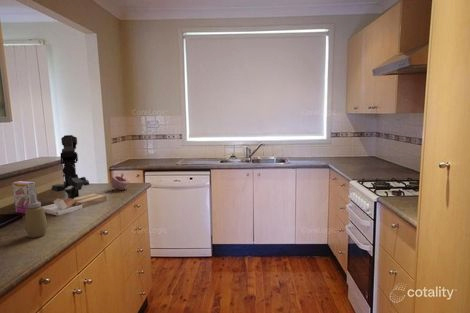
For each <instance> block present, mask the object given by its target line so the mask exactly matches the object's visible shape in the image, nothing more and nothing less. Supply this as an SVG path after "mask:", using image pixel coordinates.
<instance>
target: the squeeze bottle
mask: <svg viewBox="0 0 470 313" xmlns="http://www.w3.org/2000/svg"><path fill="white" fill-rule="evenodd" d="M41 205H42V202H41V201H39V200H38V198H37V199H36V196H35V194H32V196H31V202H30V203H28V208H27V209H26V211H25V214H24V217H25V219H24V220H25V221H24V222H25V223H24V230H25V232H26V233H27V235H28V237H29V238H31V239H34V238H40V237H43V236H45V234H46V232H47V229H48V222H47V217H46V213H45V212H44V208H43V207H44V206H41Z"/></svg>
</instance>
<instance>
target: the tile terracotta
mask: <svg viewBox="0 0 470 313" xmlns="http://www.w3.org/2000/svg"><path fill="white" fill-rule="evenodd" d="M63 201H64V202H65V204H66V205H67V207H66V208H68V207H70V206H71V205H72V204H74V203H75V201H74V199H72V198H68V197H67V198H65V199H63Z"/></svg>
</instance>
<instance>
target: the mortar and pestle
mask: <svg viewBox="0 0 470 313" xmlns="http://www.w3.org/2000/svg"><path fill="white" fill-rule="evenodd" d="M110 185H111V188H113V189H114V190H116V191H123V190H125V189H127V187H128V186H129V185H130V179H128V178H127V177H125V176H124V174H123V173H121V175H120V174H114V175H113V174H112V176H111V178H110Z"/></svg>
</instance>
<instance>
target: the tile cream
mask: <svg viewBox="0 0 470 313" xmlns="http://www.w3.org/2000/svg"><path fill="white" fill-rule="evenodd" d="M53 204H55V205H56V206H57V208H58V209H62V210H64V209H65V208H66V207H67V205H66V204H65V202H64V199H61V198H58V197H57V198H56V199H55V200H53Z"/></svg>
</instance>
